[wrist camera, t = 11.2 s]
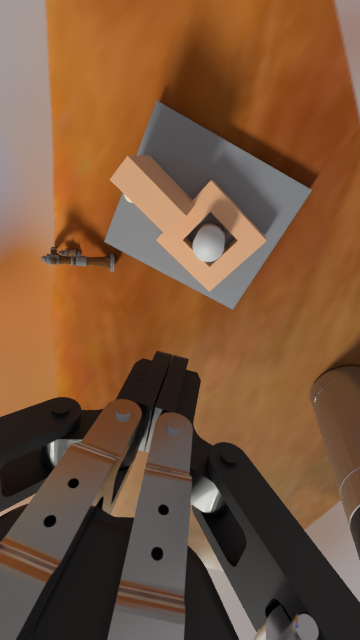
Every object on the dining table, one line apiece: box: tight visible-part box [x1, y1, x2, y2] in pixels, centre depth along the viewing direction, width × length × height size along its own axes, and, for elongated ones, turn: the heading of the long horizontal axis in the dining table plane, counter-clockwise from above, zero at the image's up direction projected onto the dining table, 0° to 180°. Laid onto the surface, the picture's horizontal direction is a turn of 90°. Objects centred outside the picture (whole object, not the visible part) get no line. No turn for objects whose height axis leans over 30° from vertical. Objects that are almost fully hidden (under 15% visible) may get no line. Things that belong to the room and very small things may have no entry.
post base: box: [104, 101, 312, 310], centre depth 33 cm, size 17×15×6 cm
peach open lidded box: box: [110, 155, 267, 292], centre depth 31 cm, size 14×8×8 cm, turn 47°
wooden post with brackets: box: [41, 247, 114, 272], centre depth 38 cm, size 2×8×4 cm, turn 81°
